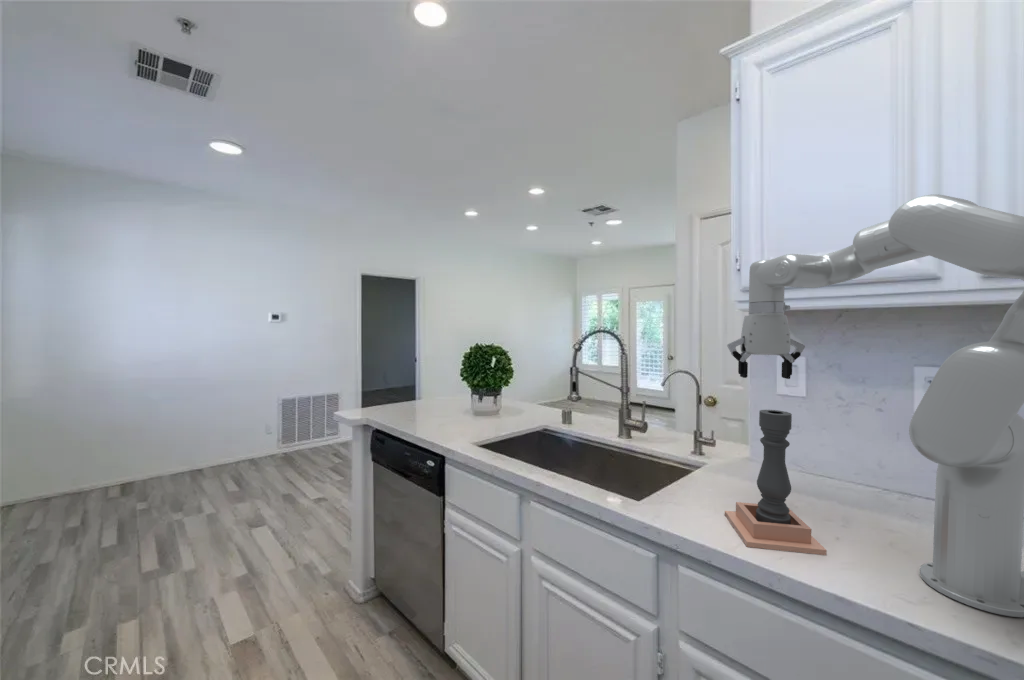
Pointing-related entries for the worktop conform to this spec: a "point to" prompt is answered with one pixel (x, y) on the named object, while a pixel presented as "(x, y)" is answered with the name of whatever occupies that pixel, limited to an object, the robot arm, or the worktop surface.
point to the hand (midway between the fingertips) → (764, 377)
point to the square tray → (773, 531)
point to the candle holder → (774, 467)
